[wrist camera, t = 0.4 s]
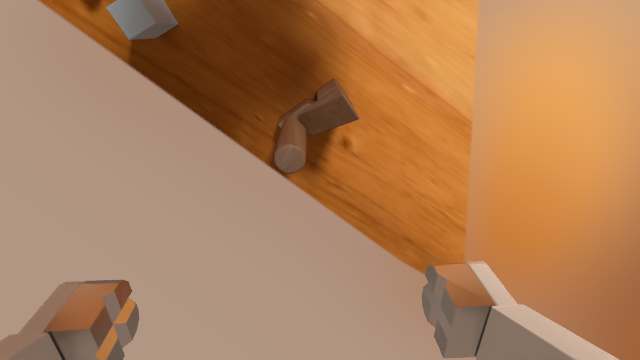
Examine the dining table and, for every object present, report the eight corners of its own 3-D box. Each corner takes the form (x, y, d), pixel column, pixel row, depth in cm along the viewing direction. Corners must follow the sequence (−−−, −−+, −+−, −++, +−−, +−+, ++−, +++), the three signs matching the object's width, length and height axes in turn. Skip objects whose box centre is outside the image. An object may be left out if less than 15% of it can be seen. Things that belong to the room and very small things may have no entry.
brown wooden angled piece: (347, 96, 53) (365, 127, 37) (292, 136, 55) (286, 182, 39) (334, 76, 52) (346, 99, 35) (278, 118, 54) (265, 157, 38)
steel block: (137, 10, 47) (106, 7, 40) (160, -5, 47) (133, -11, 39) (155, 38, 49) (129, 39, 41) (178, 23, 48) (155, 23, 41)
